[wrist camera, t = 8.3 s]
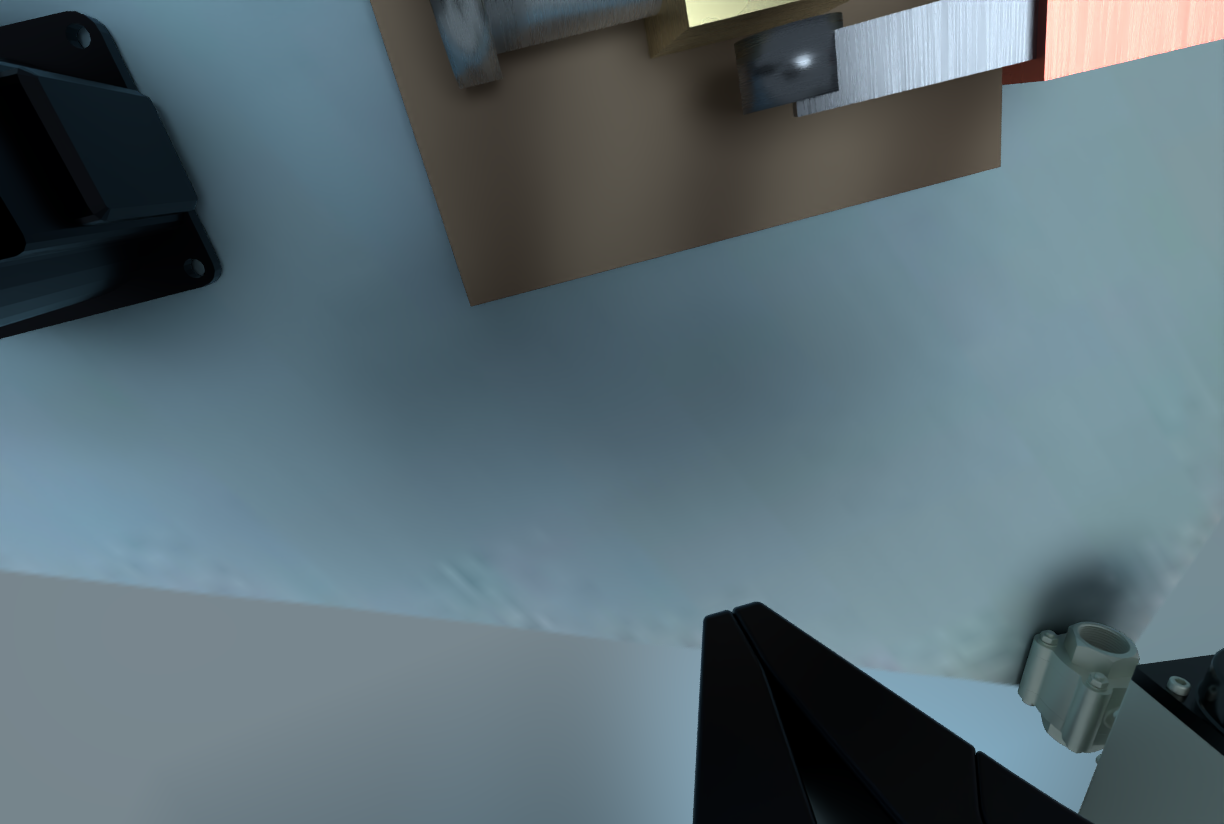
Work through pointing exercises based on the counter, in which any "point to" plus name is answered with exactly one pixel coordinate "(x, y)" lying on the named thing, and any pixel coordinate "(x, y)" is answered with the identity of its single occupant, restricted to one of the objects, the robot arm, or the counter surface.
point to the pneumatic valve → (1133, 724)
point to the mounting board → (654, 148)
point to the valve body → (599, 25)
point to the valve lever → (959, 46)
